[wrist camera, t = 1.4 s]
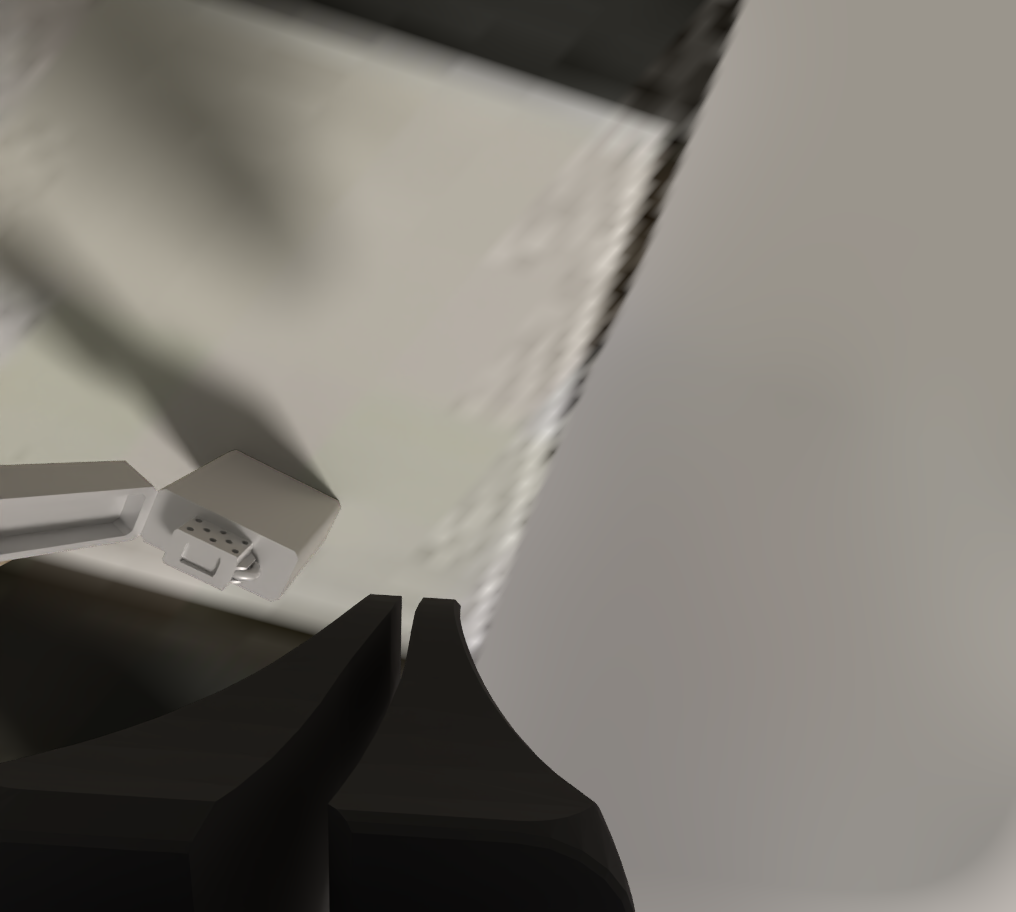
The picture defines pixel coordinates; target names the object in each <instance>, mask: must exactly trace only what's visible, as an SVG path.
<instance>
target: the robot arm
mask: <svg viewBox="0 0 1016 912" xmlns="http://www.w3.org/2000/svg"><path fill="white" fill-rule="evenodd" d="M460 608H461V606H460V604H459V603H458V602H457V601H456V600H454V599H438V598H423V599H422V601H421V602H420V603H419V605H418V607H417V609H416V611H415V615H414V620H413V625H412V630H411V636H410V641H409V646H408V652H407V657H406V663H405V667H404V671H403V674H402V678H401V680H400V664H401V610H402V596H390V595H375V594H370V595H368V596H367V597H365V598H364V599H363V600H361V601H360V602H359V603H357V604H356V605H355V606H353V607H352V608H351V609H349V610H348V611H347V612H346V613H344V614H343V615H342V616H340V617H339V618H338V619H336V620H335V621H334V622H332V623H331V624H329V625H328V626H327V627H325V628H324V629H323V630H321V631H320V632H318V633H317V634H316V635H314V636H313V637H312V638H310V639H309V640H307V641H306V642H304V643H302V644H301V645H299V646H298V647H296V648H295V649H293V650H292V651H290V652H289V653H287V654H285V655H284V656H282V657H281V658H279V659H278V660H276V661H275V662H273V663H271V664H270V665H268V666H266V667H265V668H263V669H261V670H259V671H258V672H256V673H254V674H252V675H250V676H249V677H247V678H245V679H243V680H241V681H239V682H237V683H235V684H233V685H231V686H229V687H227V688H225V689H223V690H221V691H219V692H217V693H215V694H213V695H210V696H208V697H205V698H203V699H201V700H198V701H196V702H194V703H191V704H189V705H187V706H184V707H182V708H180V709H177V710H175V711H172V712H170V713H168V714H165V715H163V716H160V717H158V718H155V719H152V720H149V721H146V722H144V723H141V724H138V725H135V726H132V727H130V728H127V729H123V730H120V731H117V732H114V733H111V734H108V735H105V736H102V737H98V738H95V739H92V740H88V741H85V742H82V743H78V744H75V745H71V746H67V747H63V748H59V749H55V750H51V751H47V752H43V753H39V754H35V755H31V756H28V757H24V758H20V759H16V760H12V761H7V762H3V763H0V912H635V909H634V904H633V899H632V895H631V892H630V888H629V885H628V881H627V878H626V875H625V872H624V869H623V866H622V863H621V860H620V857H619V854H618V852H617V849H616V847H615V844H614V842H613V839H612V836H611V834H610V832H609V829H608V827H607V825H606V822H605V820H604V818H603V815H602V813H601V811H600V809H599V807H598V806H597V804H596V803H595V802H593V801H592V800H591V799H589V798H588V797H587V796H585V795H584V794H583V793H581V792H580V791H579V790H577V789H576V788H575V787H573V786H572V785H571V784H569V783H568V782H567V781H565V780H564V779H563V778H561V777H560V776H558V775H557V774H556V773H555V772H554V771H553V770H551V769H550V768H549V767H548V766H547V765H546V764H545V763H544V762H543V761H542V760H541V759H540V758H539V757H537V755H535V753H534V752H533V751H532V750H531V749H530V748H529V746H528V745H527V744H526V743H525V742H524V741H523V740H522V739H521V738H520V737H519V735H518V734H517V733H516V732H515V731H514V729H513V728H512V727H511V725H510V724H509V722H508V721H507V720H506V719H505V717H504V716H503V714H502V713H501V711H500V710H499V708H498V707H497V705H496V704H495V702H494V701H493V699H492V697H491V696H490V694H489V692H488V690H487V689H486V687H485V685H484V683H483V681H482V679H481V677H480V675H479V673H478V671H477V669H476V666H475V664H474V662H473V660H472V657H471V654H470V652H469V649H468V646H467V643H466V641H465V637H464V634H463V630H462V626H461V621H460Z"/></svg>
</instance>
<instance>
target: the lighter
mask: <svg viewBox="0 0 1016 912" xmlns="http://www.w3.org/2000/svg"><path fill="white" fill-rule="evenodd" d="M340 509H341V505H340V503H339V501H338V500H336V499H334V498H332V497H330V496H328V495H326V494H324V493H322V492H320V491H318V490H316V489H314V488H312V487H310V486H308V485H306V484H304V483H302V482H300V481H298V480H296V479H294V478H292V477H290V476H288V475H286V474H284V473H282V472H280V471H278V470H276V469H274V468H272V467H270V466H268V465H266V464H264V463H262V462H260V461H258V460H256V459H254V458H252V457H250V456H248V455H246V454H244V453H242V452H240V451H238V450H233V451H230V452H228V453H226V454H224V455H222V456H221V457H219V458H217V459H215V460H213V461H211V462H210V463H208V464H206V465H204V466H202V467H201V468H199V469H197V470H195V471H193V472H191V473H190V474H188V475H186V476H184V477H182V478H181V479H179V480H177V481H175V482H173V483H171V484H170V485H168V486H166V487H164V488H162V489H161V490H159V491H157V490H156V489H155V487H154V486H153V485H152V484H150V483H149V482H148V481H147V480H146V479H145V478H144V477H143V476H142V475H141V474H139V473H138V472H137V471H136V470H135V469H134V468H133V467H132V466H131V465H129V464H128V463H127V462H126V461H101V462H74V463H47V464H21V465H0V562H1V561H7V560H13V559H19V558H25V557H32V556H38V555H44V554H50V553H56V552H63V551H69V550H75V549H81V548H87V547H94V546H100V545H106V544H112V543H118V542H125V541H131V540H133V539H135V538H136V537H137V536H139V535H141V537H142V539H143V541H144V542H146V543H148V544H150V545H152V546H154V547H156V548H158V549H160V550H163V551H165V553H164V555H163V558H162V560H163V563H164V564H166V565H169V566H171V567H173V568H175V569H177V570H179V571H181V572H183V573H186V574H188V575H190V576H192V577H194V578H196V579H198V580H201V581H203V582H205V583H207V584H209V585H211V586H213V587H215V588H218V589H220V590H223V589H224V588H225V587H226V586H227V585H228V584H229V583H233V584H235V585H237V586H239V587H241V588H243V589H245V590H247V591H250V592H252V593H254V594H256V595H258V596H260V597H262V598H264V599H266V600H269V601H275V600H278V599H280V597H281V596H282V595H283V594H284V592H285V591H286V590H287V588H288V587H289V586H290V585H291V583H292V582H293V581H294V579H295V578H296V577H297V576H298V574H299V573H300V572H301V570H302V569H303V568H304V567H305V565H306V564H307V563H308V561H309V560H310V559H311V558H312V556H313V555H314V554H315V553H316V551H317V550H318V549H319V547H320V546H321V545H322V544H323V542H324V541H325V539H326V537H327V535H328V533H329V531H330V529H331V527H332V525H333V523H334V521H335V519H336V517H337V515H338V513H339V511H340Z"/></svg>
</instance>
